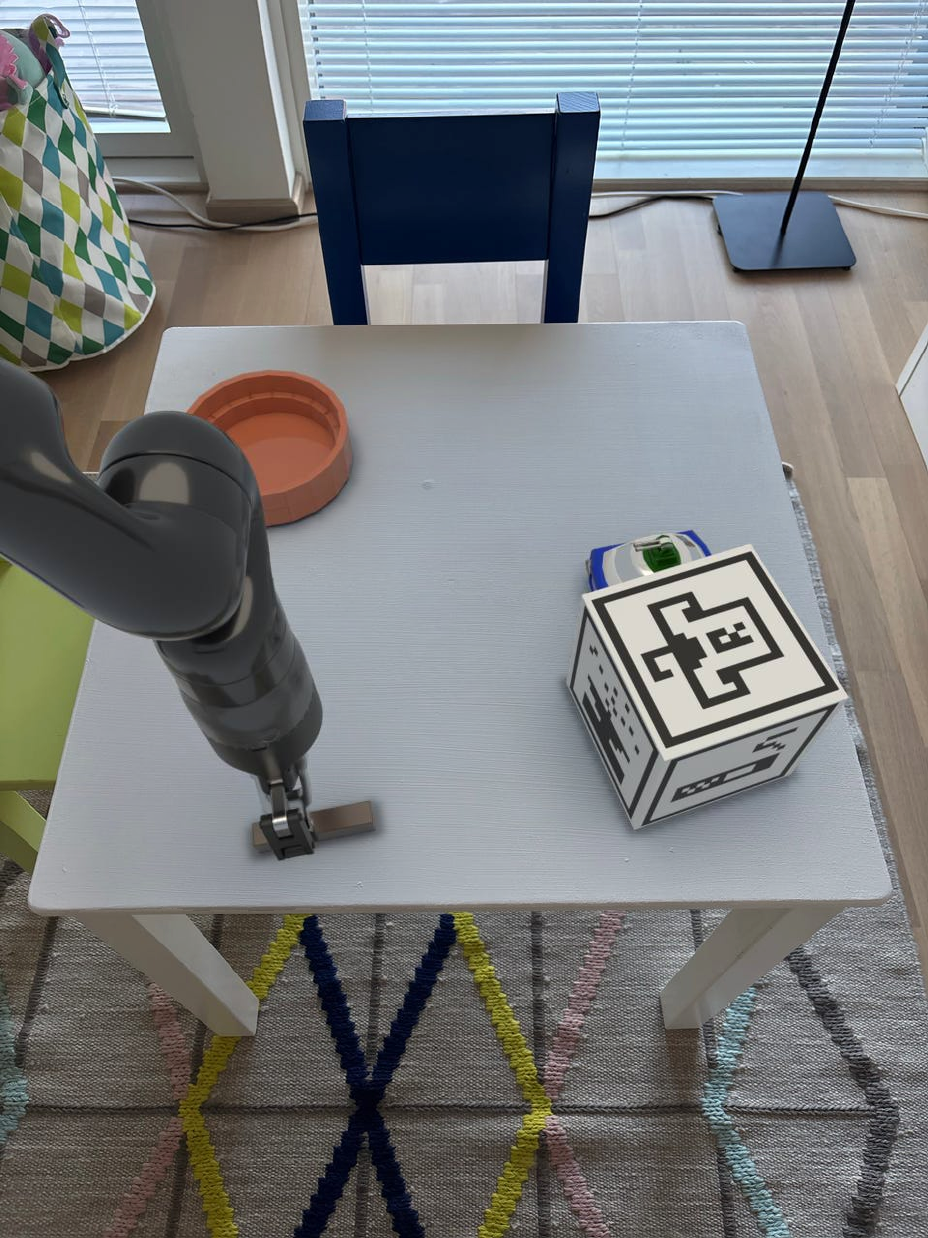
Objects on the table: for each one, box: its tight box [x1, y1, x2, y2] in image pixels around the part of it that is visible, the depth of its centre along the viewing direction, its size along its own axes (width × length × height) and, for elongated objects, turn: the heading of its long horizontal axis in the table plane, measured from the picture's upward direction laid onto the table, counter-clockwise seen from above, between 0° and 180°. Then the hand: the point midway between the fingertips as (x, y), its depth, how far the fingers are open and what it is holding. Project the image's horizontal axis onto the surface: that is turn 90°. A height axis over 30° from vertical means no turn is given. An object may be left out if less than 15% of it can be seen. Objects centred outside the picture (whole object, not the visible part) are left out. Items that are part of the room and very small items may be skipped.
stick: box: [251, 800, 376, 854], centre depth 77 cm, size 2×10×2 cm, turn 101°
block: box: [565, 543, 850, 831], centre depth 76 cm, size 15×15×15 cm
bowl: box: [185, 369, 354, 527], centre depth 98 cm, size 18×18×6 cm
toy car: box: [584, 529, 713, 592], centre depth 86 cm, size 9×12×10 cm
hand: (298, 787), depth 70 cm, fingers open, 8 cm apart
